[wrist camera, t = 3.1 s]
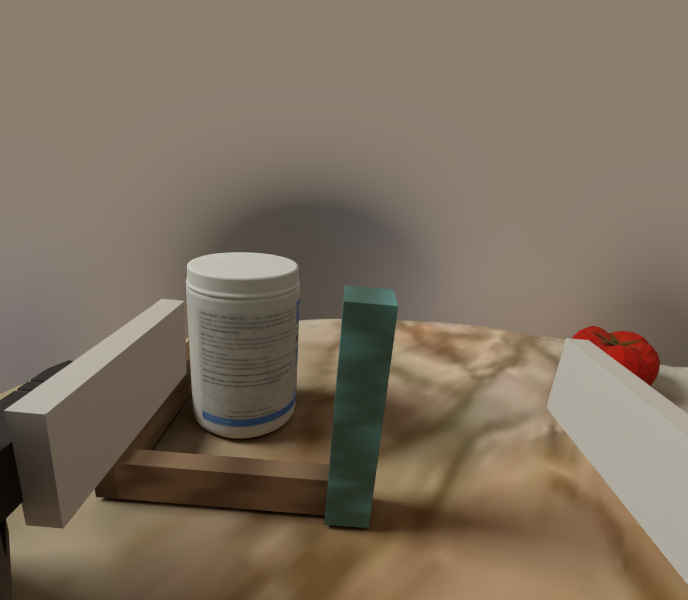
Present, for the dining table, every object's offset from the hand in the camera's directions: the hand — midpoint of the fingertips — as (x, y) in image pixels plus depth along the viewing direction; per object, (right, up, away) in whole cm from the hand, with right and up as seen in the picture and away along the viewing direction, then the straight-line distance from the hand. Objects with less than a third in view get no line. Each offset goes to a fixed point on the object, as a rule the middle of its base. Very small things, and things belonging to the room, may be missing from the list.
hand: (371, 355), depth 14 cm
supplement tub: (-11, -9, +25) cm, 29 cm away
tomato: (+31, -9, +37) cm, 49 cm away
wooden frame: (-9, -10, +23) cm, 26 cm away
